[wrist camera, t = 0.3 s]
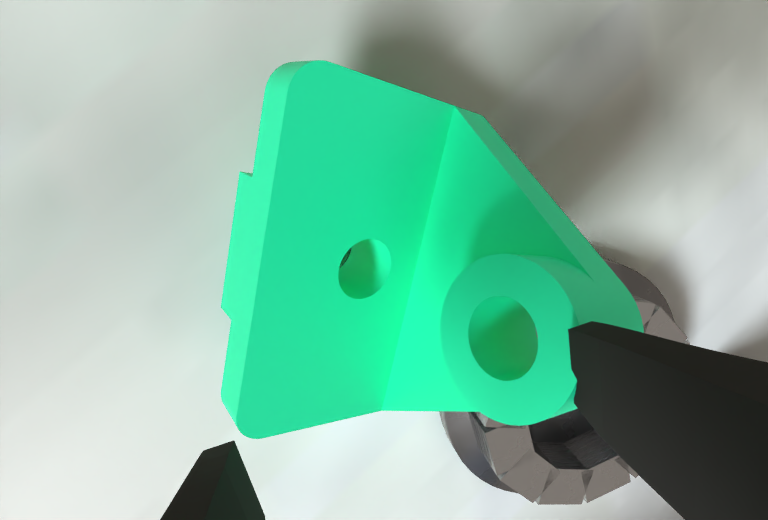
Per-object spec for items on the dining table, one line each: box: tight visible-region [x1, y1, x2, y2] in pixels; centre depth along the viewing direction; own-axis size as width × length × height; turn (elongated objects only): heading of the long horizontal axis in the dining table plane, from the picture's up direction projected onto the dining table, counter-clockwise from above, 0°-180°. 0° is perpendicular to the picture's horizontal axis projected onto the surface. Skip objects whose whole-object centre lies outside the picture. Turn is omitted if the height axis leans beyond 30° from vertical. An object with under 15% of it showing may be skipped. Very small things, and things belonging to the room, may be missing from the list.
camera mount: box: [221, 60, 644, 439], centre depth 14 cm, size 12×8×10 cm, turn 168°
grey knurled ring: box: [440, 258, 690, 504], centre depth 22 cm, size 13×13×3 cm
